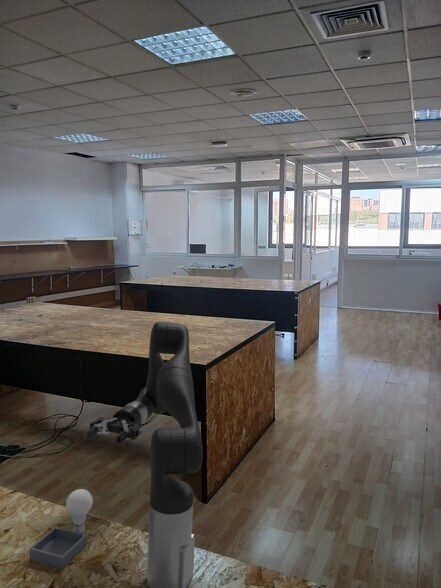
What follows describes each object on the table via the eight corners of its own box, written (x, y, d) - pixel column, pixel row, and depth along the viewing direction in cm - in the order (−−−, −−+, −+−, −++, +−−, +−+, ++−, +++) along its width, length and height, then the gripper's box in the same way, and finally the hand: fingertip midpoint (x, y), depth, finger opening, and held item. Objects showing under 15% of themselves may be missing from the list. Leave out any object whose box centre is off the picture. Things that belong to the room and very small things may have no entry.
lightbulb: (59, 535, 109) (60, 492, 108) (78, 522, 115) (79, 481, 114) (78, 544, 106) (79, 500, 106) (97, 530, 112) (98, 488, 111)
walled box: (86, 545, 106) (86, 535, 106) (62, 569, 98) (62, 557, 98) (54, 537, 109) (55, 526, 108) (29, 559, 100) (29, 548, 100)
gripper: (110, 401, 136) (79, 420, 121) (152, 408, 133) (127, 428, 117) (109, 425, 137) (79, 447, 122) (152, 432, 133) (126, 455, 118)
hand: (102, 438), depth 119 cm, fingers open, 8 cm apart
